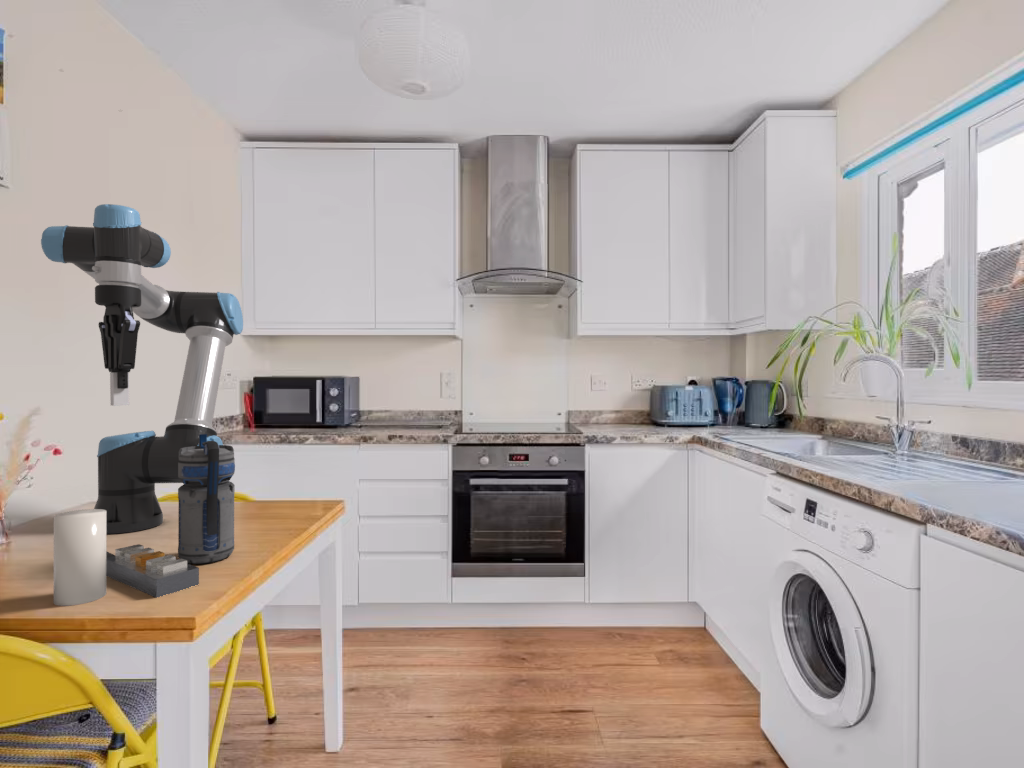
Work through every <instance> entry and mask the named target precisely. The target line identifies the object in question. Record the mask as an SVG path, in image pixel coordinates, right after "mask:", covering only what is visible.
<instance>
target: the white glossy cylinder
mask: <svg viewBox="0 0 1024 768" xmlns="http://www.w3.org/2000/svg"><path fill="white" fill-rule="evenodd" d="M106 522H107V511H106V510H103V509H94V508H87V509H78V510H77V509H76V510H71V511H70V510H69V511H66V512H61V513H57V514H55V515H54V516H53V604H54V605H55V606H59V607H66V606H67V607H69V606H78V605H83V604H88V603H91V602H95V601H97V600H100V599H102V598H104V597H105V596H106V595H107V576H106V551H107V534H106Z"/></svg>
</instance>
